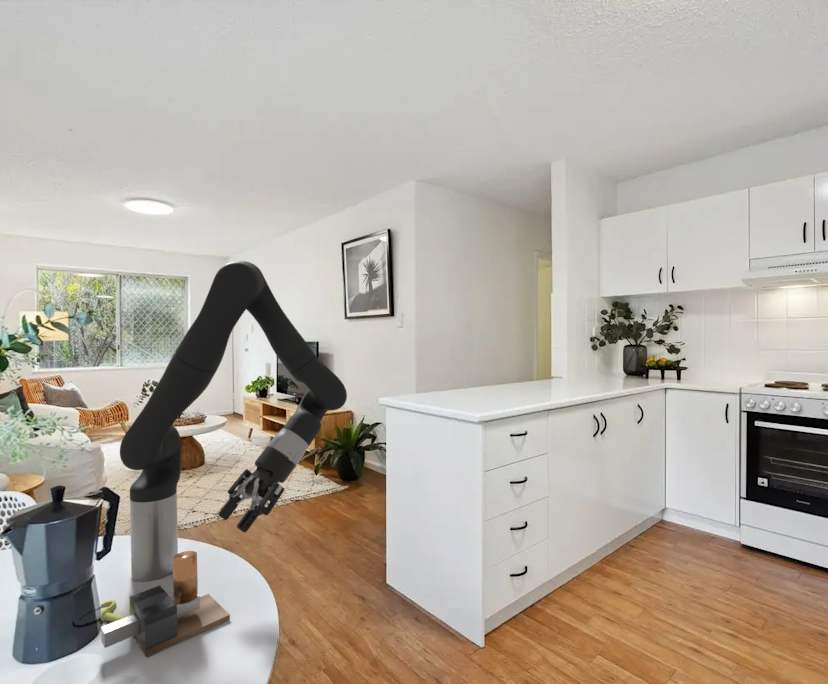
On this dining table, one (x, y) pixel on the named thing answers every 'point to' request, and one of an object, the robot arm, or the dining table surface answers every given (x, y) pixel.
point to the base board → (193, 624)
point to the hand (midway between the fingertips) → (230, 523)
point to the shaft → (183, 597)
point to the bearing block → (154, 616)
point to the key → (107, 612)
